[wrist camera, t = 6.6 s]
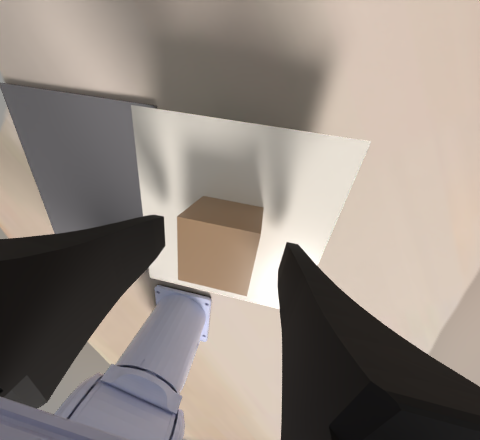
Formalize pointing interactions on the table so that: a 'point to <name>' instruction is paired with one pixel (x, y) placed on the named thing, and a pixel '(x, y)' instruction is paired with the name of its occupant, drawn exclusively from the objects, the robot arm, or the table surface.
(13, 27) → the table surface
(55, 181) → the mat
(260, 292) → the lid
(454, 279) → the table surface
